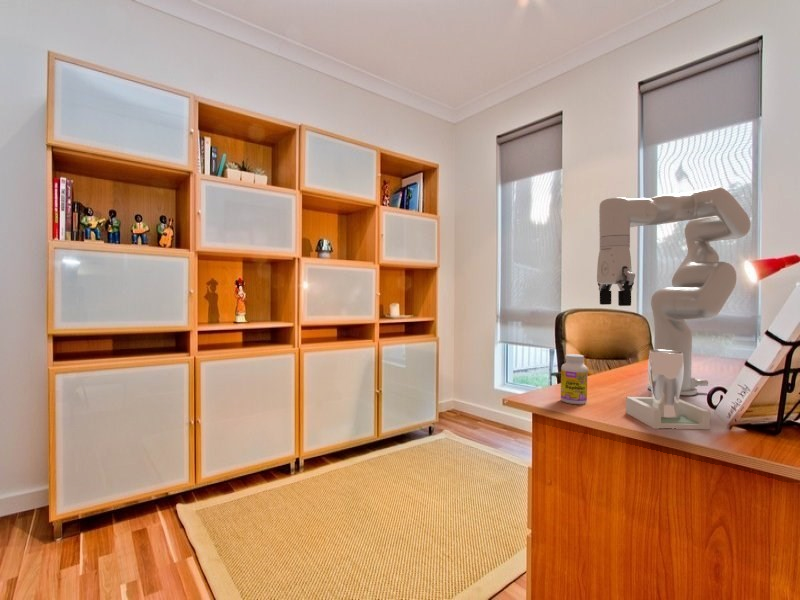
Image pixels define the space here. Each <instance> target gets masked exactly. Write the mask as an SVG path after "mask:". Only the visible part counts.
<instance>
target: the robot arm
mask: <svg viewBox="0 0 800 600" xmlns="http://www.w3.org/2000/svg"><path fill="white" fill-rule="evenodd" d="M598 211H599V212H598V214H599V222H598V223H599V252H598V257H597V267H596V268H597V271H596V281H597V285H598V291H599V305H612V290H611V288H612V286H613V285H617V286H618V288H619V290H618V291H617V292H618V293H617V294H618V295H617V296H618V300H617V301H618V306H620V307H631V306H632V291H633V286H634V283H635V282H634V281H635V279H636V273H634V272H633V271H632V257H631V250H630V249H631V228H635V227H640V226H641V227H643V226H644V227H645V226H657V225H658V226H659V225H664V224H665V225H667V224H671V223H679V222H685V221H687V223H686V225H685V227H684V237H685V241H686V246H687V254H686V255H685V258H684V259H683V260H682V262H681V264H680V265H679V266H678V268H677V269H676V271H675V273H674V274H673V276H672V279H671V285H672V286H671V287H669V286H668V287H663V288H660V289H658V290H656V291H655V292H654V293H653V294H652V296H651V299H650V306H651V311H652V316H653V325H654V342H653V343H654V349H653V350H672V351H679V352H682V353H683V364H684V374H683V382H682V387H681V391H680V396H695V395H698V393H699V391H698V389H697V388H696V387H698V386H699V387H708V386H709V381H708V379H698V378H696V377H694V376H692V359H693V358H692V357H693V355H692V352H693V351H692V349H693V346H692V345H693V335H692V334H693V333H692V330H691V328H690V327H689V324H688V323H687V322H686V321H685V320H691V321H692V320H693V321H710V320H712V319H714V318H716V317H717V316H718V315H719V313H720V312H721V311H722V309H723V307H724V305H725V304H726V303H727V300H728V299H729V298H730V296H731V294H732V292H733V291H734V289H735V287H736V284H737V271H736V268H735V267H734V266H733V265H732V264H731V263H729V262H726V261H719V260H720V256H719V254H718V252H717V250H716V249H715V248H714V247H712V246H711V245H710V242H718V241H719V242H720V241H729V240H738V239H740V238H743V237H745V236H746V235H747V234H748V233H749V231H750V229H751V221H750V217H749V215H748V213H747V211H745V210H744V208H743V207H742V205H741V204H740V203H739V202H738V200H737V199H736V198H735V197H734V195H732V194H731V193H730V192H729V191H728V190H727V189H725V188H723V187H721V186H712V187H709V188H708V187H707V188H703V189H698V190H694V191H689V192H680V193H671V194H670V193H669V194H662V195H658V196H654V197H653V196H652V197H649V198H648V197H647V198H646V197H642V198H641V197H640V198H639V197H638V198H626V197H618V196H617V197H610V198H606V199H603V200H602V201H601V202H600V203H599V210H598ZM647 388H648V390H651V387H650V383H648V385H647Z"/></svg>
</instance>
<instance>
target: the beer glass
mask: <svg viewBox="0 0 800 600" xmlns="http://www.w3.org/2000/svg"><path fill="white" fill-rule="evenodd" d="M648 355H649V356H648V363H647V364H648V365H647V366H648V367H647V368H648V382H649V384H650V387H651V392H650V393H651V397H652V404H651V406H653V407H655V408H657V409H659V410H661V418H666V419H679V418H680V417H681V415H680V410H679V399H680V396H681V395H680V391H681V387H682V382H683V374H684V364H683V353H682V352H679V351H672V350H654V349H649V354H648Z"/></svg>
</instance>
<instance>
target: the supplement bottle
mask: <svg viewBox="0 0 800 600" xmlns="http://www.w3.org/2000/svg"><path fill="white" fill-rule="evenodd" d="M564 357H565V363H563V364H562V365H561V369H560V371H561V372H560V374H561V375H560V400H561V401H562V402H564V403H565V404H569V405H585V404H586V403H587V401H588V374H589V373H588V367H587V365H585V364H584V360H585V356H584V355H583V354H578V353H577V354H576V353H568V354H565V355H564Z"/></svg>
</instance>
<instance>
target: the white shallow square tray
mask: <svg viewBox="0 0 800 600" xmlns="http://www.w3.org/2000/svg"><path fill="white" fill-rule="evenodd" d="M651 404H652V396H625V413H626V414H627V415H629V416H631V417H633V418H634V419H637V420H638V421H640V422H641V423H643V424H645V425H647V426H649V427H650V428H652V429H654V430H655V429H656V430H657V429H659V428H672V429H671V430H710V429H711V427H710V426H711V425H710V424H711V410H708V409H705V408H703V407H700V406H698V405H695V404H693V403H691V402H688V401H686V400H683V399H680V398H679V410H680V415H681V417H680V418H679V419H666V418H661V410H659V409H657V408H655V407H653V406H651ZM674 428H676V429H674ZM659 430H660V429H659Z"/></svg>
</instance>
